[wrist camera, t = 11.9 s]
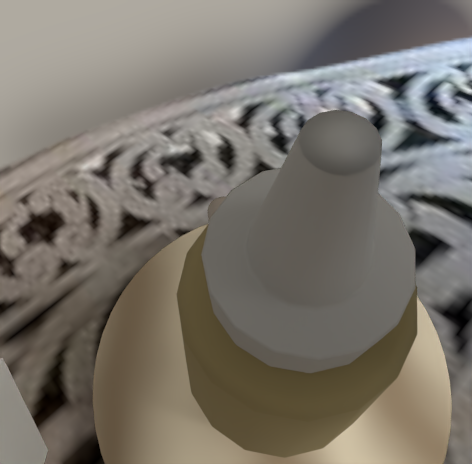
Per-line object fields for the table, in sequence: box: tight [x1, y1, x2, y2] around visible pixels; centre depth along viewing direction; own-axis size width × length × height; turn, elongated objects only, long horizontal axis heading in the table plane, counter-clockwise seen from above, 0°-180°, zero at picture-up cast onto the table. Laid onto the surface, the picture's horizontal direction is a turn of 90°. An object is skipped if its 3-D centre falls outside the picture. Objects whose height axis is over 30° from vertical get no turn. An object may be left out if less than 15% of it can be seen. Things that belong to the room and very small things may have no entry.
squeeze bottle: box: [176, 110, 417, 458], centre depth 14 cm, size 8×8×18 cm
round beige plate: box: [93, 197, 452, 464], centre depth 21 cm, size 18×18×6 cm
